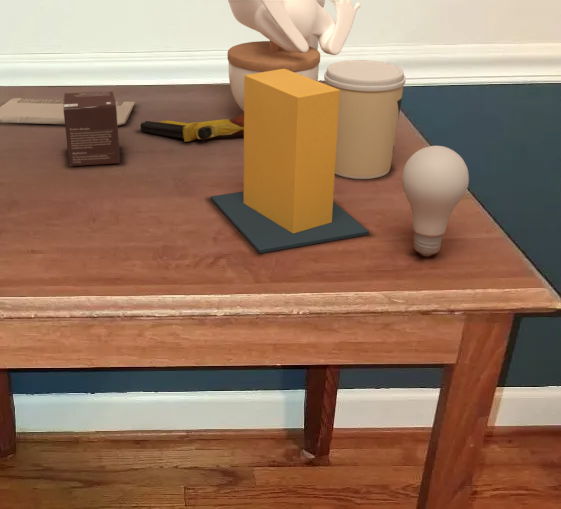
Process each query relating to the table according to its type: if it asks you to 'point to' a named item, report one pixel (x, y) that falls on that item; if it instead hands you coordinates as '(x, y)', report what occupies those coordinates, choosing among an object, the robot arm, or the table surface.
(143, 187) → the table surface
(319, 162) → the cereal box
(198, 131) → the toy gun
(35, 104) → the grooming comb
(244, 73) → the lidded bowl
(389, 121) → the coffee cup
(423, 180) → the lightbulb
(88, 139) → the box
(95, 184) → the table surface
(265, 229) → the slate mat
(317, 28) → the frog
